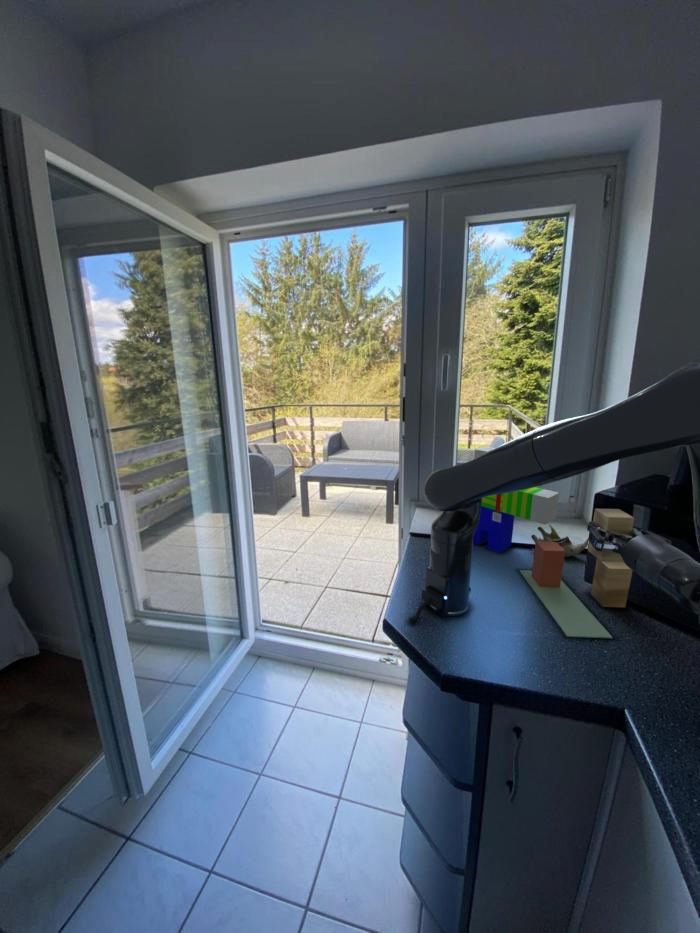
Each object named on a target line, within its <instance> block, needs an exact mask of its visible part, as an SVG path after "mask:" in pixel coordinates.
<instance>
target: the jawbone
mask: <svg viewBox="0 0 700 933" xmlns="http://www.w3.org/2000/svg"><path fill="white" fill-rule="evenodd" d="M548 527H549V528H550V531H551V532H550V533H549V532H547V531H546V530H545V529H544V528H543V527H542V526H537V530H538V532H540V534H541V536H542V538H541V537H537V535H536V534H531V535H530V536H531V539H532V541H533V542H534V545H535V544H536V542H556V543H557V544H559V545H560V546H561V547H562V548H563V549H564V550H565V557H564V558H569V557H572V556H576V555H578V554H580V553H581V552H583V551H584V550H585V549H586V548H588V546H589V544H588V541H589V540H588V537H587V538H586V540H585V541H583V543H579V544H576V545H575V544H573V542H572V541H571V540H570V537H569V536H564V537H561V536H560V535H559V534H558V532H557V531H556V529H555V528H554V527H553V526H552V525H551V524H548ZM530 549H531V550H532V551H534V552H535V548H533V547H531V548H530Z"/></svg>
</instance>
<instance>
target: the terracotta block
mask: <svg viewBox="0 0 700 933" xmlns="http://www.w3.org/2000/svg"><path fill="white" fill-rule="evenodd" d="M534 549H535V551H534V553H533V561H532V568H531V570H532V577H533V579H534V580H535V581H536V583H537V584H538V585H539V587H560V584H561V580H562V577H563V576H562V575H563V569H564V564H565V558H566V557H565V550H564V549H563V548H562V547H561V546H560V545H559V544H557V543H556V542H536V544H535V543H534Z"/></svg>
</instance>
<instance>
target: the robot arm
mask: <svg viewBox="0 0 700 933" xmlns="http://www.w3.org/2000/svg"><path fill="white" fill-rule="evenodd" d="M679 447H685V448H686V451H687V455H688V461H689V464H690V465H689V466H690V471H691V478H692V479H691V480H692V500H693V501H692V503H693V504H692V505H693V506H692V508H693V525H694V526H693V527H694V533H695V538H696V542H697V548H698V551H699V553H700V358H699V359H695V360H693V361H691V362H688V363H686V364H684V365H682V366H680V367H678V368H677V369H676V370H674V371H673V372H670V373H669V374H668V375H667V376H665V377H663V378H662V379H660V380H659V381H657V382H656V383H654V384H652V385H650V386H648V387H647V388H645V389H643V390H641V391H639V392H637V393H635V394H633V395H631V396H628V397H627V398H625V399H622V400H620V401H619V402H616V403H615V404H614V403H613V405H610V406H608V407H606V408H603V409H600V410H598V411H595V412H591V413H588V414H584V415H580V416H575V417H570V418H566V419H561V420H558V421H555V422H552V423H549V424H546V425H542V426H541V427H540V426H539V427H538V428H536V429H533V430H531V431H528V432H526V433H524V434H521V435H519V436H517V437H515V438H512V439H511V440H508V441H507V442H505V443H503V444H499V446H496V447H493V448H494V449H492V450H490V451H489V452H487V453H485V454H483V455H481V456H479V457H477V458H475V459H474V458H473V459H470V460H469V461H466V462H463V463H460V464H457V465H452V466H447V467H443V468H439V469H436V470H435V471H433V472H432V473H431V474H430V475H428V477H427V479H426V481H425V483H424V488H423V495H424V497H425V500H426V501H427V503H428V504H429V506H431V507H432V508H434V509H436V510H438V511H441V513H439V515H438V516H437V517H436V518H435V519H434V520H433V521H432V523H431V526H430V546H429V547H430V548H429V564H428V565H429V566H428V567H426V568H425V585H424V587H423V588H422V589H421V600H423V602H422V603H421V604H420V606H418V608H417V611H416V613H415V615H413V616H412V617H409V618H408V619H409V622H410V623H413V622H416V621H417V620H419V618H420V616H421V614H422V611H423V610H424V609H425V608H426V607H428V608H429V609H431V610H432V611H433V612H435V613H436V614H438V615H440V616H441V617H442V618H446V617H458V616H461V615H464V614H465V613H467V612H468V610H469V608H470V607H469V606H470V605H469V604H470V601H469V600H470V595H471V592H472V588H471V576H472V565H473V564H472V562H473V552H474V551H473V550H474V543H473V541H474V533H475V531H476V529H477V527H478V524H479V519H480V512H481V505H482V497H486V496H490V495H496V494H502V493H508V492H514V491H519V490H524V489H529V488H533V487H536V488H538V487H542V486H545V485H549V484H552V483H557V482H559V481H563V480H567V479H569V478H572V477H575V476H579V475H581V474H584V473H586V472H590V471H593V470H596V469H598V468H601V467H603V466H606V465H609V464H612V463H615V462H617V461H620V460H624V459H627V458H631V457H635V456H639V455H645V454H649V453H655V452H658V451H659V452H660V451H663V450H670V449H674V448H679ZM586 530H587V531H588V532H589V533H588V537H587V538H588V540H589V542H590V543H591V544H592V546H593V547H594V549H595V550H596V551H599V552H602V551H603V548H606V549H611V550H612V551H613V552H615V553H618V554H620V555H621V557H622V559H623V561H624V563H625V564H626V565H627V566H628V567H629V568H630V569H631V570H633V571H632V572H634V573H635V574H637V576H639V577H640V578H642V579H643V580H644V581H645V582H647V583H648V584H649V585H651V586H652V587H653V588H655V589H657V590H659V591H661V592H662V593H664V594H665V595H666V596H668V598H670V599H671V600H673V601H674V602H675V603H676V604H678V605H679V606H681V607H682V608H684V609H685V610H687V611H688V612H691V613H693V614H696V615H697V621H698V626H700V562H698V561H696V560H695V559H694V558H692V556H690V555H689V554H687V553H686V552H684V551H682V550H680V548H677V547H675V546H673V545H672V540H670V539H668V538H665V537H664V536H661V535H658V534H656V533H655V532H652V531H650V530H647V529H644V528H643V529H642V528H641V529H640V530H638V529H637V528H635V527H632V531H631V535H627V534H621V533H619V532H617V531H614V530H606V529H604V528H602V527H601V526H599V525H598V524H596V523H595V522H594V521H593V520H592V521H590V520H589V521H588V522H587V527H586ZM603 533H604V534H605V535H606V536H605V537H603ZM613 536H614V537H613Z"/></svg>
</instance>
